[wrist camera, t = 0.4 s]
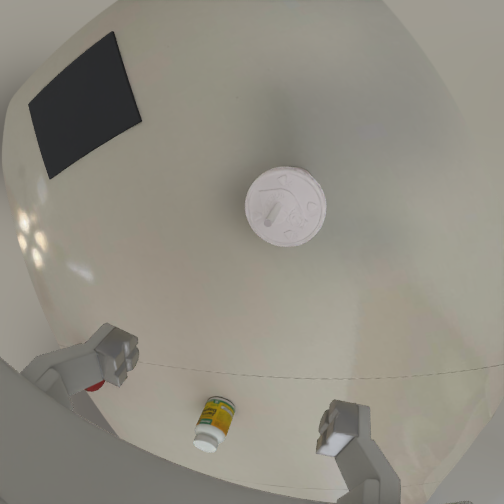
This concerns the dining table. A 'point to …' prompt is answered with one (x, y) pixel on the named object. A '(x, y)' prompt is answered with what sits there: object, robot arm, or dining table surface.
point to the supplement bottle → (213, 424)
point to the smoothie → (285, 206)
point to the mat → (83, 106)
